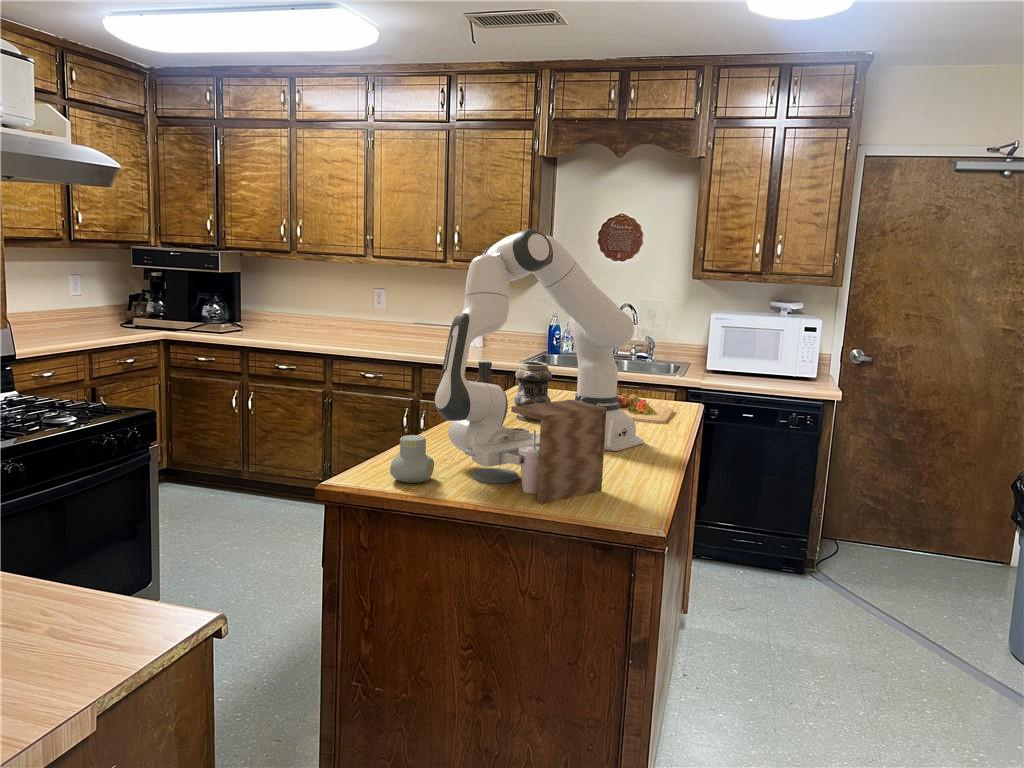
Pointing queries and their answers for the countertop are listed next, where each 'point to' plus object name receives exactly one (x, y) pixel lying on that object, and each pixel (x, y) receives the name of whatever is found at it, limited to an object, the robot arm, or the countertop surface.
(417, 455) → the air freshener
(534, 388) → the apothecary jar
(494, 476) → the coaster
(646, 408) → the cutting board
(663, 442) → the countertop surface
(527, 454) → the smoothie
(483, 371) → the sauce bottle
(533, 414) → the shelf
